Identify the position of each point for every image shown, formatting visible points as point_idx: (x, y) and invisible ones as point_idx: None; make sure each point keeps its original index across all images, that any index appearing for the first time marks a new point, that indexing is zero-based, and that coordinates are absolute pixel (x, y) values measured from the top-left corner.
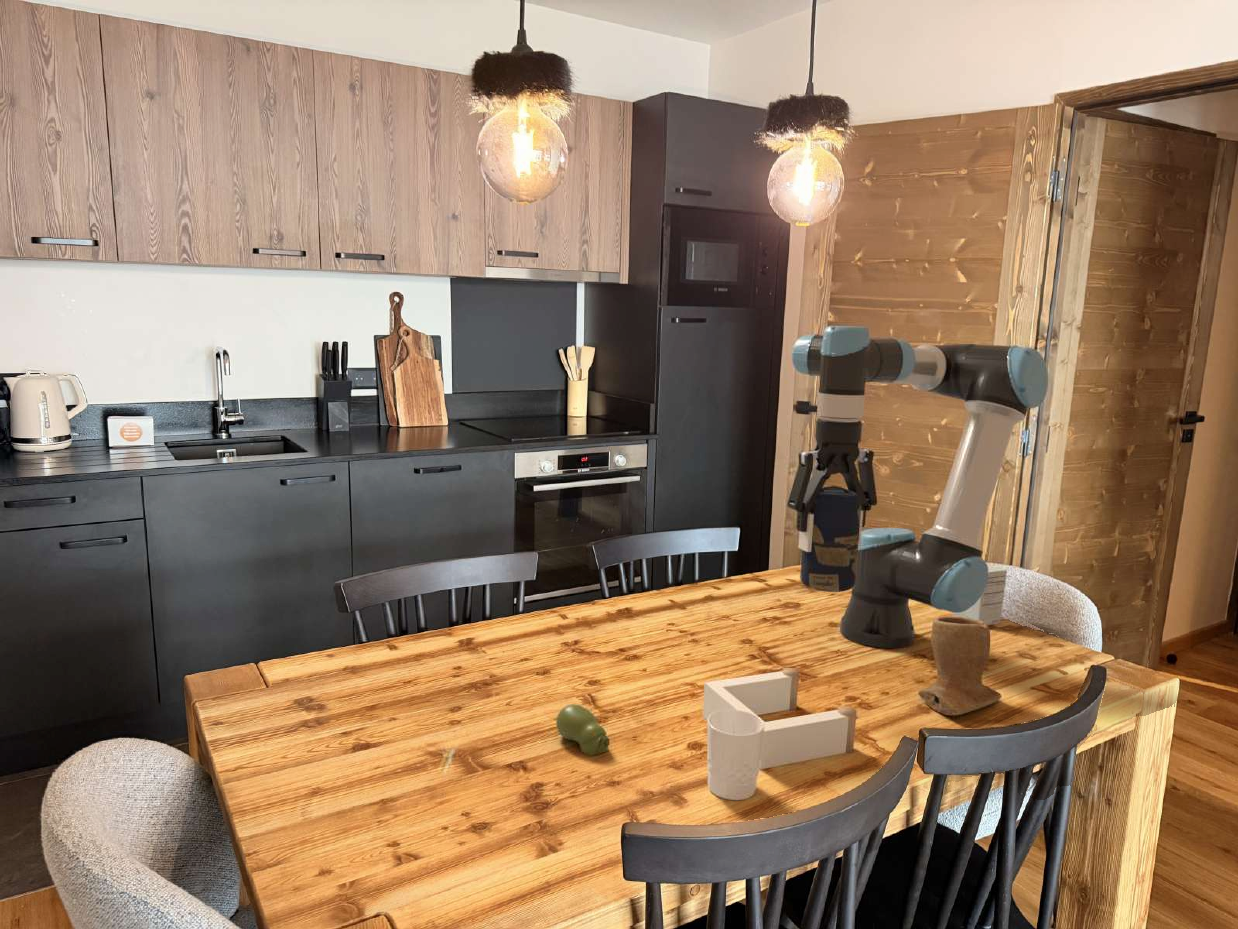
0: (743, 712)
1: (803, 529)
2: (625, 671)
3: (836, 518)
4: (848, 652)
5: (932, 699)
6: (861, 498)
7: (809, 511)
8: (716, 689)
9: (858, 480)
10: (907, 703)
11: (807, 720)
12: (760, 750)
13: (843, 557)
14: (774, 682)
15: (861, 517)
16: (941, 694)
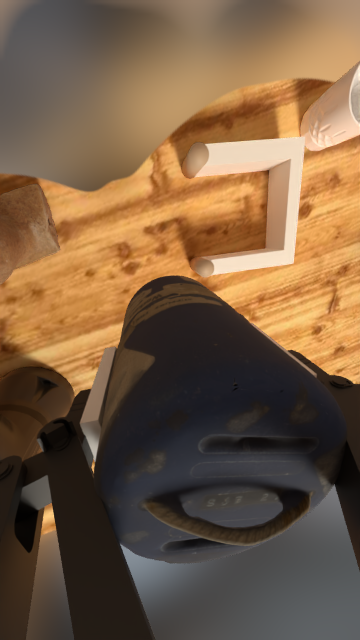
0: (353, 116)
1: (292, 353)
2: (288, 345)
3: (250, 330)
4: (85, 362)
5: (51, 226)
6: (78, 476)
7: (325, 383)
8: (291, 246)
9: (81, 635)
10: (76, 247)
11: (250, 148)
12: (342, 76)
13: (183, 288)
14: (227, 257)
15: (92, 401)
16: (41, 214)
